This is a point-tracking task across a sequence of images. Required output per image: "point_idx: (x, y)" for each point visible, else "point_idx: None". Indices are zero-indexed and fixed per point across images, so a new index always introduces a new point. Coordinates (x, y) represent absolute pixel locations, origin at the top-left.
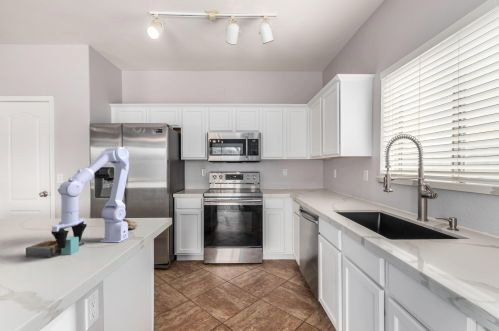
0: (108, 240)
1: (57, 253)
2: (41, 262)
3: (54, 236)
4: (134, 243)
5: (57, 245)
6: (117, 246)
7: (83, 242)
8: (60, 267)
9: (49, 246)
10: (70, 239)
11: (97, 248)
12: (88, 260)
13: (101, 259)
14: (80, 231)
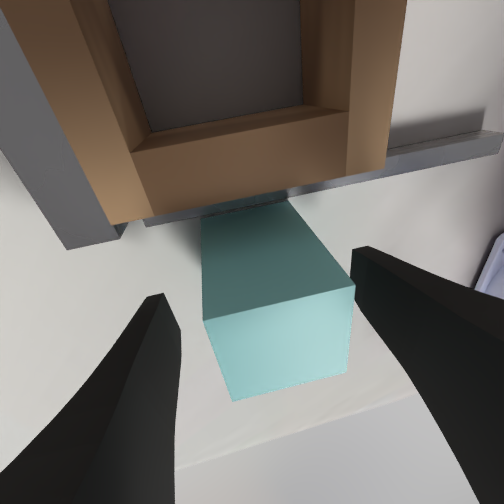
0: (489, 290)
1: (170, 219)
2: (6, 248)
3: (14, 472)
4: None
5: (198, 204)
6: (387, 367)
7: (483, 154)
8: (61, 400)
9: (101, 168)
10: (240, 392)
11: (356, 319)
12: (189, 411)
13: (219, 431)
14: (434, 404)
